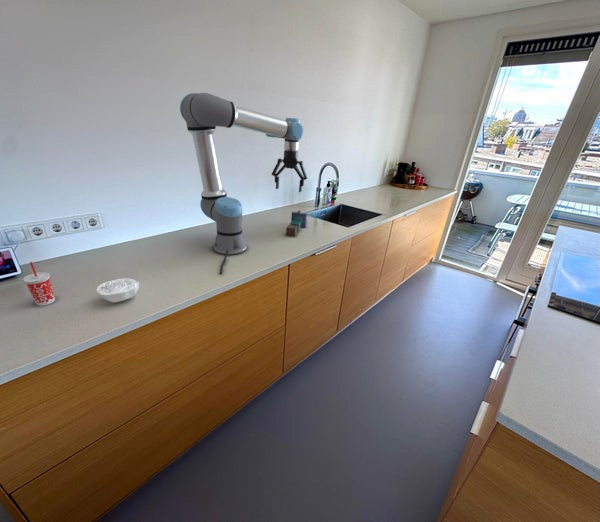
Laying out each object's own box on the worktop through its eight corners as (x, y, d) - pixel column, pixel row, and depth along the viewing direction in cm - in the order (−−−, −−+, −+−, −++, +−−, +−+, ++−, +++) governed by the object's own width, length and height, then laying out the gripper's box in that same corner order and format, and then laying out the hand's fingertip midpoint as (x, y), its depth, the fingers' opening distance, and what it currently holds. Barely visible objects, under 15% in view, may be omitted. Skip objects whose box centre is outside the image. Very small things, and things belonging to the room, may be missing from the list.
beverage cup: (30, 308, 88) (13, 268, 82) (37, 297, 93) (21, 259, 87) (55, 305, 90) (40, 265, 84) (60, 294, 95) (47, 256, 89)
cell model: (138, 305, 93) (134, 287, 90) (95, 309, 89) (89, 291, 86) (144, 289, 101) (140, 272, 98) (105, 292, 98) (100, 275, 95)
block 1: (298, 232, 163) (298, 224, 161) (289, 231, 164) (290, 223, 162) (300, 230, 168) (300, 221, 166) (292, 228, 169) (292, 220, 167)
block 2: (294, 237, 157) (295, 228, 155) (285, 235, 158) (286, 227, 156) (297, 234, 161) (297, 225, 159) (288, 232, 162) (289, 224, 160)
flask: (306, 226, 174) (307, 209, 169) (306, 228, 171) (307, 210, 167) (291, 225, 174) (291, 208, 169) (290, 227, 171) (291, 209, 167)
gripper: (315, 152, 154) (311, 191, 163) (271, 147, 159) (270, 186, 168) (312, 153, 147) (308, 194, 156) (266, 148, 152) (265, 188, 161)
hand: (288, 190), depth 162 cm, fingers open, 13 cm apart
